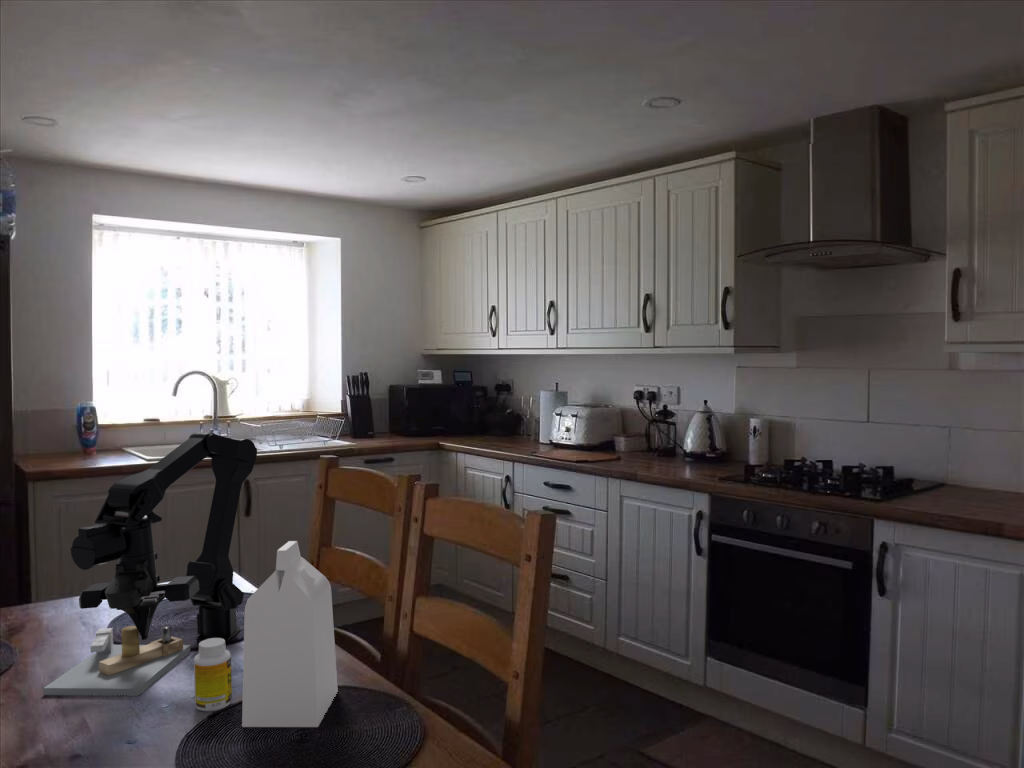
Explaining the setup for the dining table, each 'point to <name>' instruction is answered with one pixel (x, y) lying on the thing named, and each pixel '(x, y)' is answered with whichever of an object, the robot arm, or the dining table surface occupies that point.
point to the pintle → (166, 634)
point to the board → (112, 676)
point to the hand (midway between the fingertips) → (144, 639)
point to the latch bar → (137, 652)
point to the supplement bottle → (212, 675)
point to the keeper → (103, 641)
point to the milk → (289, 646)
